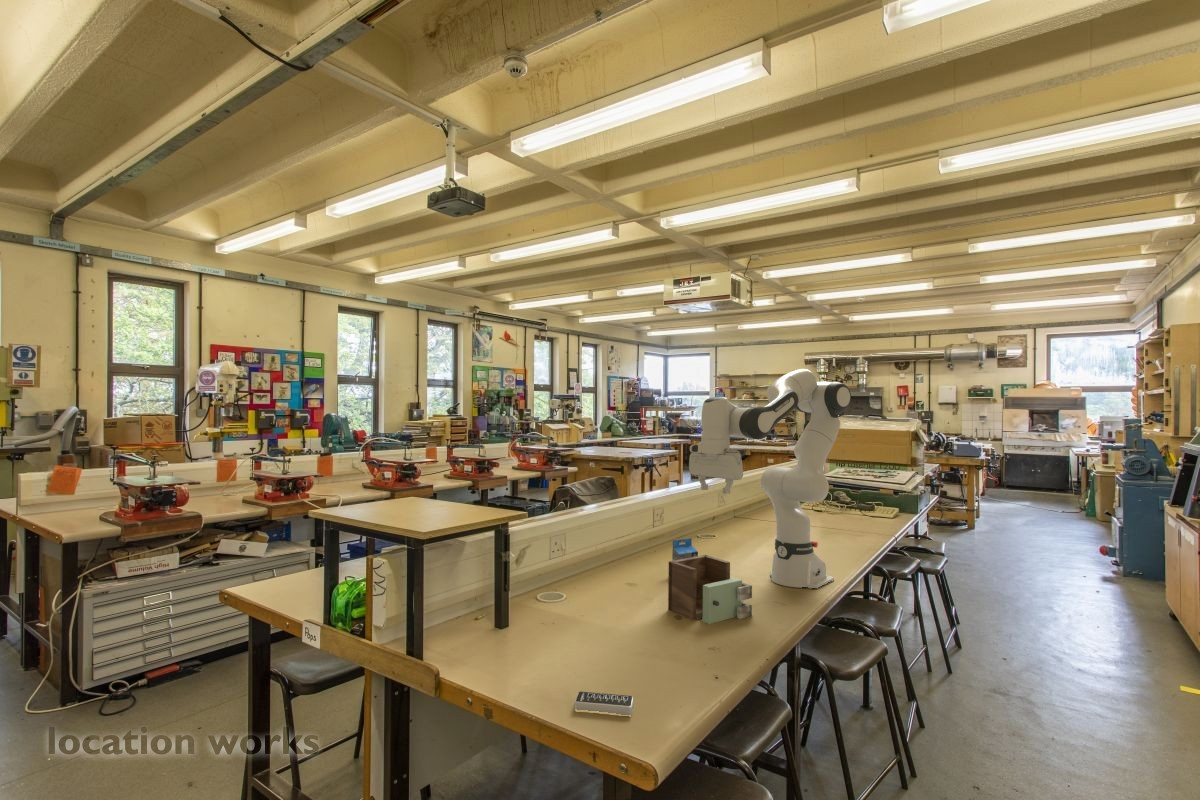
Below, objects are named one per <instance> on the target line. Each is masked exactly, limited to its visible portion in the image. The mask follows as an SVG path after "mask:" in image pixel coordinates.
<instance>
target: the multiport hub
mask: <svg viewBox="0 0 1200 800" xmlns="http://www.w3.org/2000/svg"><path fill="white" fill-rule="evenodd" d="M575 709H577V710H588V711H599V712H608V713H616V714H621V715H632V714H633V711H632V710H634V696H633V695H627V694H626V695H625V694H616V693H615V694H614V693H604V692H594V691H593V692H592V691H578V692H577V694H576V697H575V699H574V710H575Z"/></svg>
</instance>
